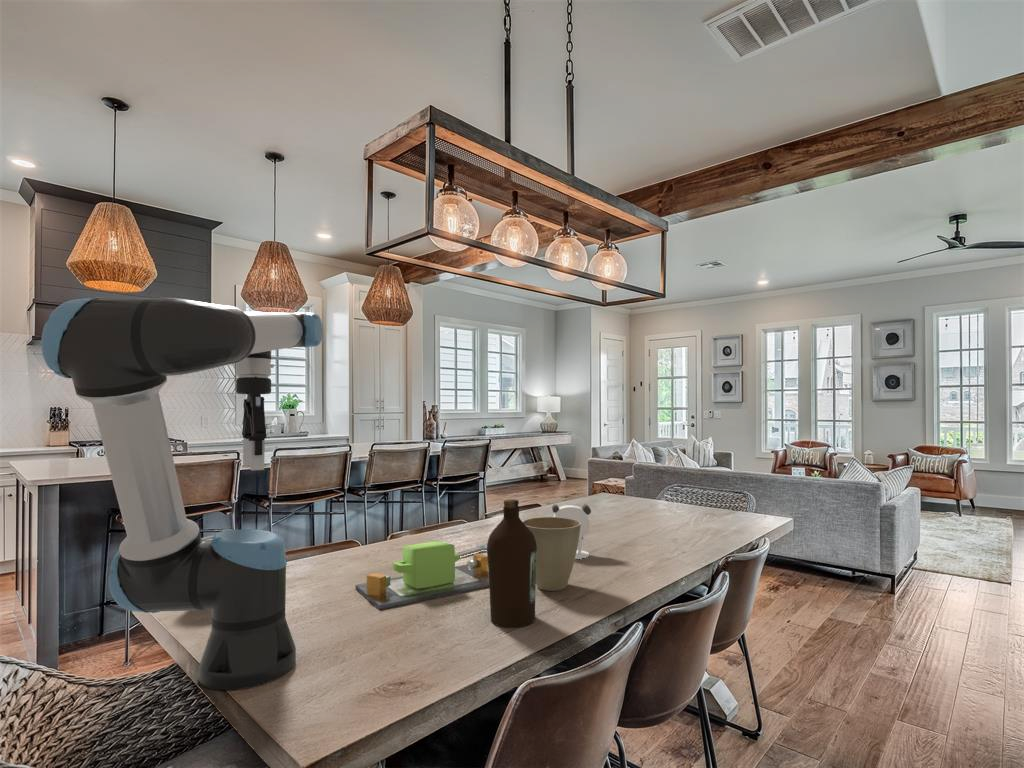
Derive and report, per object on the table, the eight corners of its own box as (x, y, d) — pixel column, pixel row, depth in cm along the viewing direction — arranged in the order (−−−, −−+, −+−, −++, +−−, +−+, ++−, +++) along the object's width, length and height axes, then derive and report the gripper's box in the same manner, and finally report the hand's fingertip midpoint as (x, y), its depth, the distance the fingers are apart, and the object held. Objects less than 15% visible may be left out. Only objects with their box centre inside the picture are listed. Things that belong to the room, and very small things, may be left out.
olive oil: (486, 629, 112) (484, 504, 113) (489, 610, 122) (487, 496, 123) (538, 629, 111) (536, 504, 113) (537, 610, 122) (535, 496, 123)
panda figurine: (589, 550, 174) (588, 502, 175) (593, 559, 163) (592, 508, 163) (551, 550, 174) (550, 502, 175) (552, 560, 163) (552, 508, 164)
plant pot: (546, 600, 128) (545, 531, 129) (511, 584, 140) (510, 521, 141) (594, 588, 136) (593, 523, 137) (557, 574, 149) (556, 514, 149)
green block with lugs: (451, 572, 149) (451, 536, 150) (470, 579, 141) (469, 541, 142) (388, 583, 139) (388, 545, 140) (405, 592, 131) (405, 551, 132)
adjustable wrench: (439, 566, 160) (439, 559, 160) (426, 562, 165) (426, 556, 165) (502, 549, 178) (502, 544, 178) (489, 546, 182) (489, 541, 182)
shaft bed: (504, 583, 141) (504, 561, 142) (379, 609, 124) (379, 585, 124) (471, 567, 157) (471, 547, 157) (355, 588, 139) (355, 566, 139)
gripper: (280, 374, 122) (280, 470, 121) (262, 380, 143) (262, 462, 142) (243, 373, 118) (242, 473, 117) (230, 380, 139) (229, 464, 138)
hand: (253, 467), depth 129 cm, fingers open, 13 cm apart
